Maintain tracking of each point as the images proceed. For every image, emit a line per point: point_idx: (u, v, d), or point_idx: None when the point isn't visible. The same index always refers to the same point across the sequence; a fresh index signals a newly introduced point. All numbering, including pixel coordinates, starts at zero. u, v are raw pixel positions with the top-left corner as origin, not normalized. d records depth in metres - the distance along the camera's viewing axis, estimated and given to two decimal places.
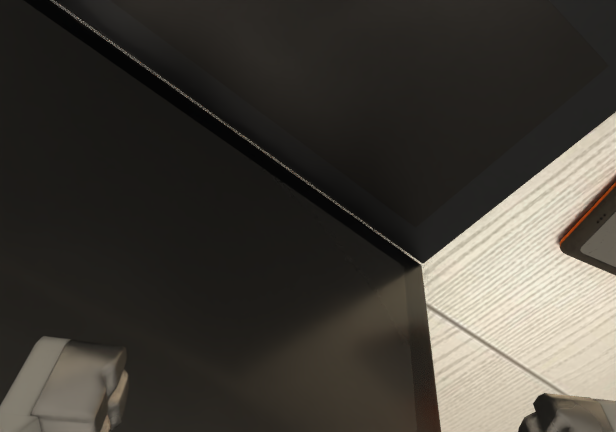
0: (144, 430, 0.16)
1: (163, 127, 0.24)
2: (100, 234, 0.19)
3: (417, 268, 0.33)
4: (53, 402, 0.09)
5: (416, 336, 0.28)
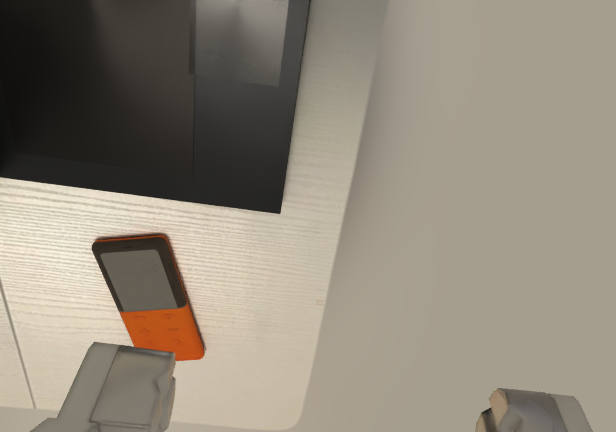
0: None
1: None
2: None
3: None
4: (111, 409, 0.09)
5: None
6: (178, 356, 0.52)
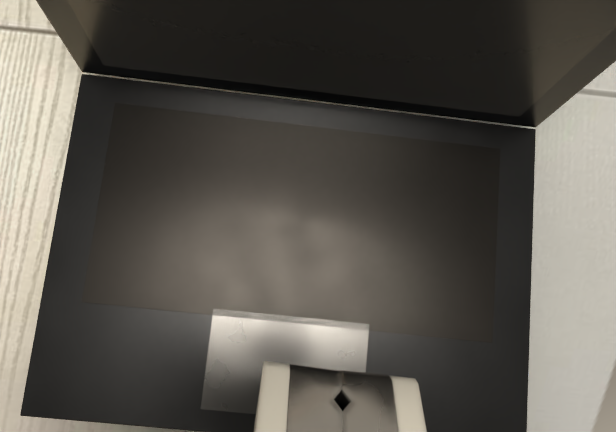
0: None
1: (356, 80, 0.32)
2: (384, 2, 0.25)
3: (85, 68, 0.34)
4: (303, 429, 0.09)
5: (65, 17, 0.29)
6: None
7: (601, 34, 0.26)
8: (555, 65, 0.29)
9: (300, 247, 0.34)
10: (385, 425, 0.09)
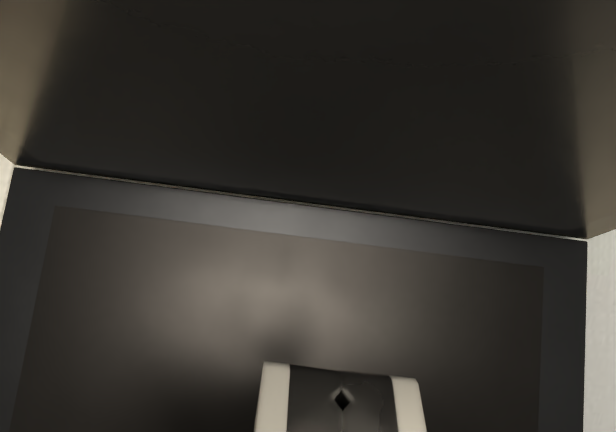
0: None
1: (364, 191, 0.25)
2: (409, 122, 0.18)
3: (17, 161, 0.27)
4: (303, 428, 0.09)
5: None
6: None
7: None
8: None
9: None
10: (385, 425, 0.09)
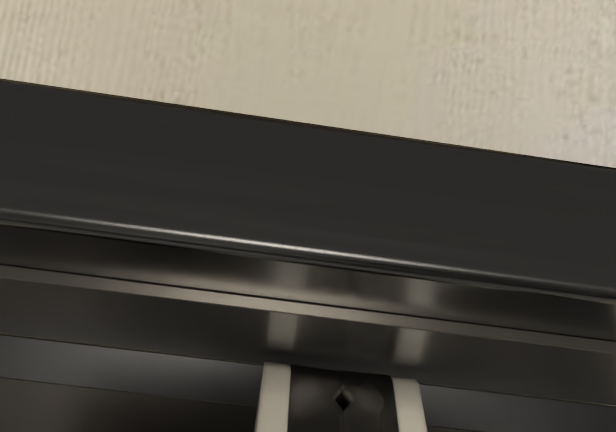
0: (277, 338, 0.07)
1: None
2: None
3: None
4: (304, 429, 0.09)
5: None
6: None
7: None
8: None
9: None
10: (386, 425, 0.09)
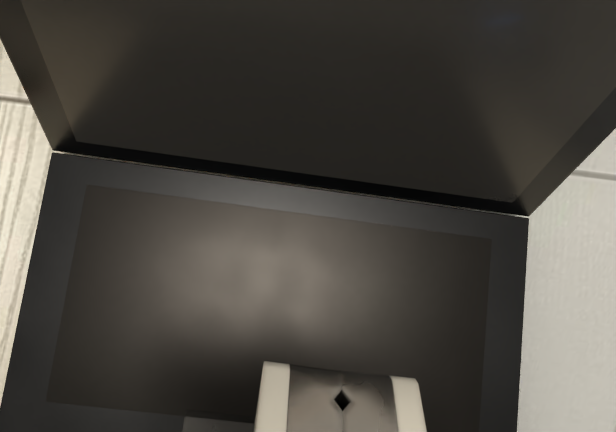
0: None
1: (343, 159, 0.31)
2: (375, 64, 0.25)
3: (56, 145, 0.32)
4: (303, 428, 0.09)
5: (41, 82, 0.27)
6: None
7: (595, 102, 0.25)
8: (549, 139, 0.28)
9: (279, 343, 0.32)
10: (385, 425, 0.09)
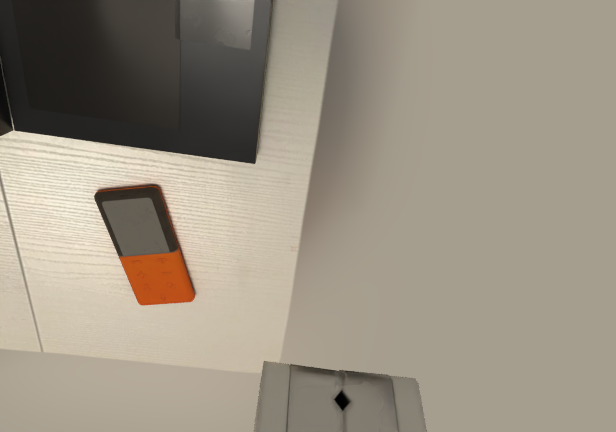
0: None
1: None
2: None
3: (6, 128, 0.46)
4: (303, 428, 0.09)
5: None
6: (171, 298, 0.59)
7: None
8: None
9: None
10: (385, 425, 0.09)
